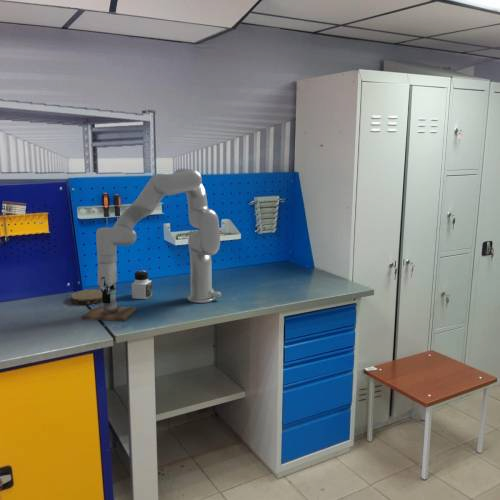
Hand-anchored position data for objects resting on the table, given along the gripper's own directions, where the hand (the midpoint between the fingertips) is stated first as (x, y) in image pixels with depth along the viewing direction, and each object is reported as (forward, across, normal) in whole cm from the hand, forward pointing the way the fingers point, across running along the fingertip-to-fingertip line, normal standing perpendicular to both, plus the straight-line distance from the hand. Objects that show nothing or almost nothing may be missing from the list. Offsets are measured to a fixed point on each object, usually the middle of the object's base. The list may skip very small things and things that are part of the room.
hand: (109, 300), depth 212 cm
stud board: (+6, 0, 0) cm, 6 cm away
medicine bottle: (+6, -26, +5) cm, 27 cm away
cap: (+1, 0, 0) cm, 1 cm away
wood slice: (+7, -18, -17) cm, 26 cm away
